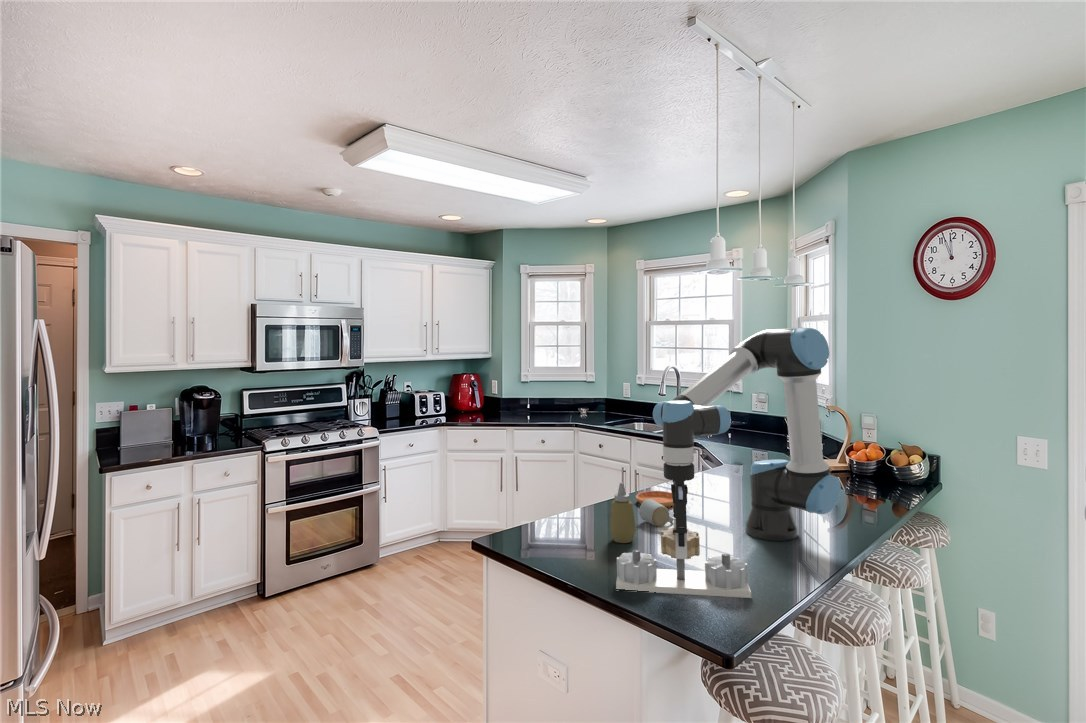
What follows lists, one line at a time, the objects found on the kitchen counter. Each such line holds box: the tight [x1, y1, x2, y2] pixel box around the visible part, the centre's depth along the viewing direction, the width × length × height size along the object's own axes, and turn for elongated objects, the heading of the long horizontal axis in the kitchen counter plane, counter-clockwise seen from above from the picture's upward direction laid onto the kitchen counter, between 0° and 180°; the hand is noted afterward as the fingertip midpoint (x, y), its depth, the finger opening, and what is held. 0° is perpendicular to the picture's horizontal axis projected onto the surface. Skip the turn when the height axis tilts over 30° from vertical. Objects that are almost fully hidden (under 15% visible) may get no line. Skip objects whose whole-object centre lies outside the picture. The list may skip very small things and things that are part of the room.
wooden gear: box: [660, 527, 701, 560], centre depth 141 cm, size 9×9×4 cm
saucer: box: [635, 490, 673, 508], centre depth 213 cm, size 16×16×3 cm
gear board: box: [615, 549, 752, 599], centre depth 141 cm, size 32×11×9 cm, turn 79°
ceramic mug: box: [638, 499, 675, 528], centre depth 189 cm, size 11×8×8 cm
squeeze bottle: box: [609, 482, 637, 544], centre depth 173 cm, size 8×8×18 cm
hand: (680, 550), depth 141 cm, fingers closed on wooden gear, 9 cm apart
